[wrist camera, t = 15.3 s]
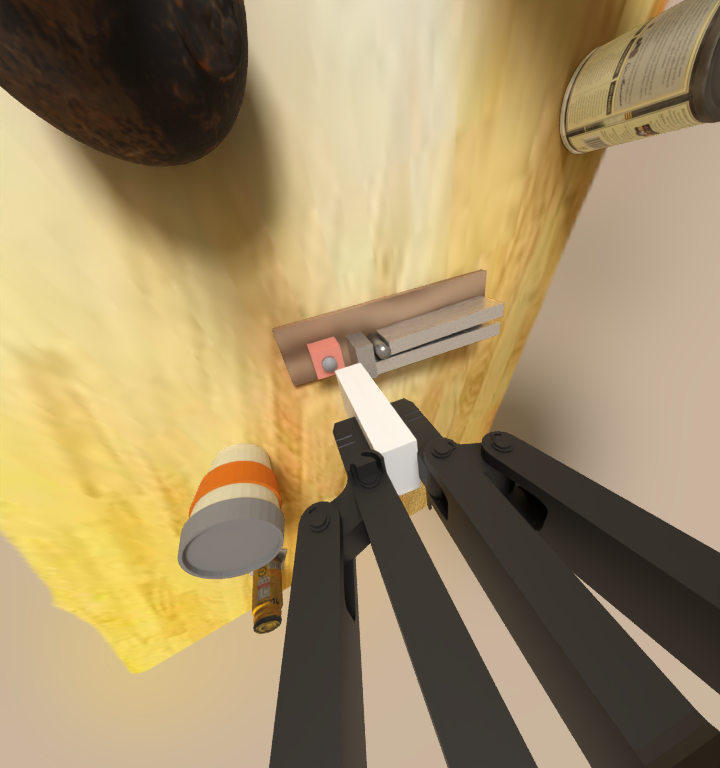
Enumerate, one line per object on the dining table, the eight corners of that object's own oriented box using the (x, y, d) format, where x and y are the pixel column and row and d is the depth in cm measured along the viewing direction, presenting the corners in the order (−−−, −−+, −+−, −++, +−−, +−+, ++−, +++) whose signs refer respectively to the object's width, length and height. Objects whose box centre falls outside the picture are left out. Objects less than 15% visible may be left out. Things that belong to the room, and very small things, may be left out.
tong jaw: (363, 334, 39) (377, 348, 34) (480, 295, 42) (507, 303, 37) (366, 346, 40) (380, 361, 35) (479, 307, 43) (506, 317, 38)
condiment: (249, 574, 62) (247, 640, 52) (253, 552, 58) (251, 619, 48) (282, 569, 64) (285, 630, 55) (287, 547, 61) (291, 609, 51)
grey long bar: (345, 336, 39) (355, 349, 34) (479, 296, 42) (502, 303, 38) (352, 366, 41) (362, 382, 37) (477, 326, 45) (498, 336, 41)
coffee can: (636, 36, 32) (844, -71, 21) (610, 146, 38) (762, 110, 27) (568, 50, 31) (750, -56, 19) (551, 162, 37) (685, 131, 25)
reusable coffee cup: (269, 425, 43) (271, 503, 31) (287, 476, 50) (295, 556, 38) (186, 447, 41) (153, 542, 28) (217, 497, 47) (200, 592, 35)
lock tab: (306, 344, 37) (311, 356, 34) (333, 336, 38) (341, 347, 34) (314, 368, 39) (319, 382, 36) (340, 360, 40) (347, 373, 36)
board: (272, 328, 36) (272, 331, 35) (481, 269, 41) (486, 270, 40) (293, 382, 41) (294, 386, 40) (477, 323, 46) (482, 325, 45)
